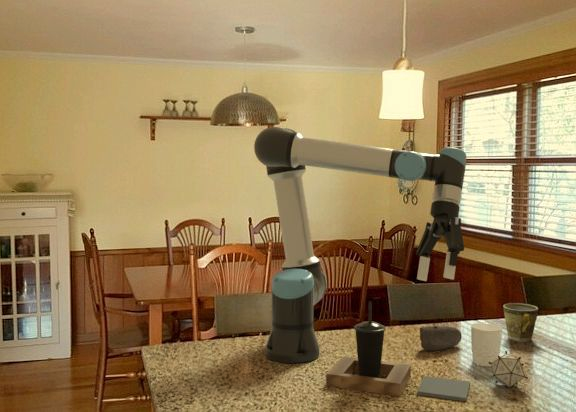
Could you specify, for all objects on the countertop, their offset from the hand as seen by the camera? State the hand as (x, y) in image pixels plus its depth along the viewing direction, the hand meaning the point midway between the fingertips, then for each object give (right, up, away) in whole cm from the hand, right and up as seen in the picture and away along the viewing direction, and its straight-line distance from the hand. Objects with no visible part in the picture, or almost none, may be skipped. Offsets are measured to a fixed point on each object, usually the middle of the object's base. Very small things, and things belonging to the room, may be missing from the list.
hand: (434, 279), depth 161 cm
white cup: (+14, -23, +2) cm, 27 cm away
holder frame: (-19, -24, -11) cm, 32 cm away
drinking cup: (-19, -24, -11) cm, 33 cm away
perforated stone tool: (+5, -22, +15) cm, 27 cm away
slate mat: (-2, -24, -17) cm, 30 cm away
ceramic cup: (+32, -22, +23) cm, 45 cm away
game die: (+14, -24, -15) cm, 32 cm away
